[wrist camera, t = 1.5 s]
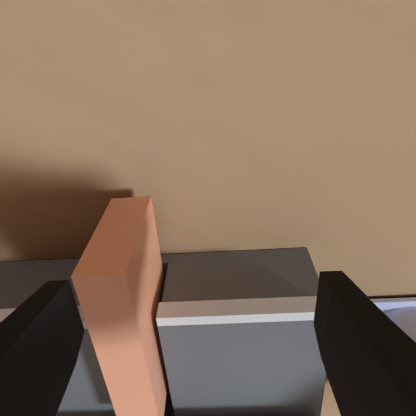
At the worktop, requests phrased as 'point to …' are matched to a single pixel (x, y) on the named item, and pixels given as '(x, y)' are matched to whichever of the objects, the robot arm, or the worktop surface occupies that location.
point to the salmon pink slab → (125, 305)
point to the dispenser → (209, 333)
